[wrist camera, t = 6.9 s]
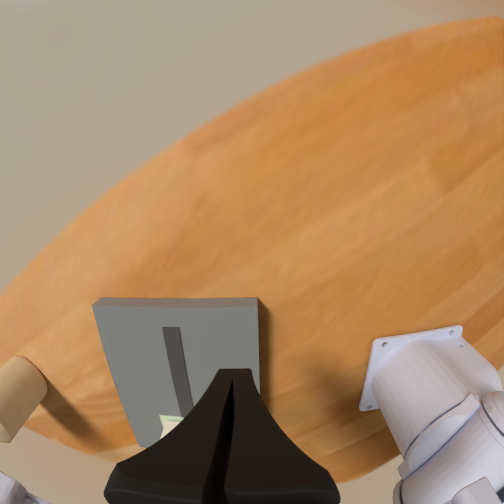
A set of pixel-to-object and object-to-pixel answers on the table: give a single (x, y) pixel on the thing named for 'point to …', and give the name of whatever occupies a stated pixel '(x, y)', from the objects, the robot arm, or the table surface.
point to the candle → (18, 395)
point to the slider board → (173, 353)
